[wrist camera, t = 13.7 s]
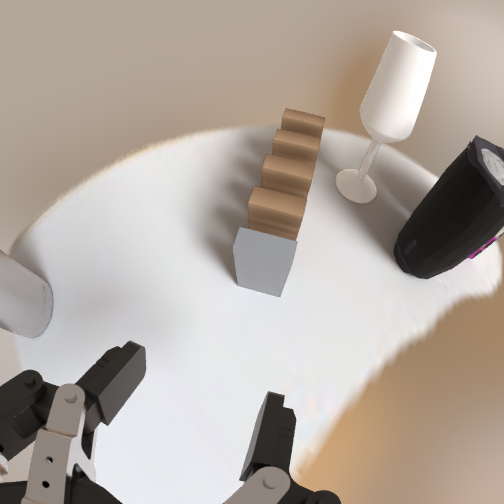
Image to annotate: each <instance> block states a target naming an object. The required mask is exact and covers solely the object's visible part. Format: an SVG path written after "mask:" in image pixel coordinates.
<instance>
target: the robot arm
mask: <svg viewBox="0 0 504 504" xmlns="http://www.w3.org/2000/svg"><path fill="white" fill-rule="evenodd" d="M52 310H53V296H52V291H51V289H50V286H49V285H48V283H47V282H46V281H45V280H44V279H42V278H41V277H39V276H38V275H36V274H34V273H33V272H31V271H30V270H28V269H27V268H26V267H24V266H23V265H21V264H20V263H18V262H17V261H15V260H14V259H12V258H11V257H10V256H8V255H7V254H5V253H4V252H3V251H1V250H0V328H2V329H5V330H8V331H10V332H13V333H16V334H19V335H22V336H25V337H29V338H34V337H37V336H39V335H40V334H41V333H42V332H43V331H44V330H45V329H46V327H47V325H48V323H49V321H50V318H51V314H52ZM145 372H146V355H145V347H143V346H141V345H139V344H137V343H134V342H132V341H128V342H127V343H126V344H125V345H124V346H123V347H122V348H120V347H118V346H116V347H114V348H112V349H110V350H108V351H107V352H106V353H105V354H104V355H103V356H102V357H101V359H99V360H98V361H97V362H96V364H94V365H93V366H92V367H91V368H90V369H89V370H88V371H87V372H86V373H85V374H84V375H83V376H82V377H81V378H80V379H79V380H78V381H77V382H76V383H75V384H64V385H62V386H60V387H59V386H56V385H53V384H50V383H47V382H44V381H43V378H42V376H41V375H40V374H39V373H38V372H37V371H35V370H26V371H23V372H22V373H20V374H19V375H17V376H16V377H14V378H12V379H11V380H9V381H8V382H6V383H5V384H3V385H2V386H0V504H122V503H121V502H120V501H119V500H117V499H116V498H115V497H114V496H113V495H112V494H110V493H109V492H108V491H107V490H106V489H105V488H103V487H101V486H100V485H98V484H96V472H95V467H94V455H95V446H96V438H97V426H98V425H99V423H100V422H102V423H104V424H106V425H107V426H108V425H109V424H110V422H111V421H112V420H113V418H114V417H115V416H116V414H117V413H118V412H119V410H120V409H121V408H122V406H123V405H124V404H125V402H126V401H127V400H128V398H129V397H130V396H131V394H132V393H133V392H134V390H135V389H136V388H137V386H138V385H139V384H140V382H141V381H142V379H143V378H144V376H145ZM284 397H285V396H284V395H281V394H277V393H273V392H270V391H268V392H267V395H266V397H265V399H264V402H263V404H262V406H261V409H260V411H259V414H258V417H257V420H256V423H255V427H254V431H253V434H252V438H251V442H250V445H249V449H248V452H247V456H246V459H245V462H244V466H243V469H242V472H241V476H240V479H239V480H240V481H244V482H245V483H244V485H243V486H242V487H240V488H239V489H238V490H237V491H236V492H235V493H234V494H233V495H232V496H231V497H230V498H229V499H228V500H226V501H225V502H224V503H223V504H341V501H340V499H339V497H338V496H337V495H336V494H334V493H332V492H330V491H326V490H322V491H317V492H313V491H311V490H309V489H306V488H304V487H302V486H300V485H298V484H297V483H296V482H295V481H294V480H293V479H292V478H291V476H290V473H289V465H290V459H291V453H292V446H293V440H294V439H293V438H294V433H295V431H294V430H295V425H296V417H295V414H294V411H293V409H289V408H285V407H283V403H284ZM26 408H27V409H26ZM22 411H23V412H22ZM15 416H16V417H15ZM35 440H36V441H35ZM33 441H35V445H34V450H33V455H32V459H31V464H30V470H29V476H28V481H20V482H19V481H18V482H5V483H2V477H3V475H6V474H8V472H9V469H8V463H7V462H8V461H9V460H11V459H12V458H13V457H14V456H16V455H17V454H18V453H19V452H21V451H22V450H23V449H25V448H26V447H27V446H28V445H29V444H31V443H32V442H33Z"/></svg>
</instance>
